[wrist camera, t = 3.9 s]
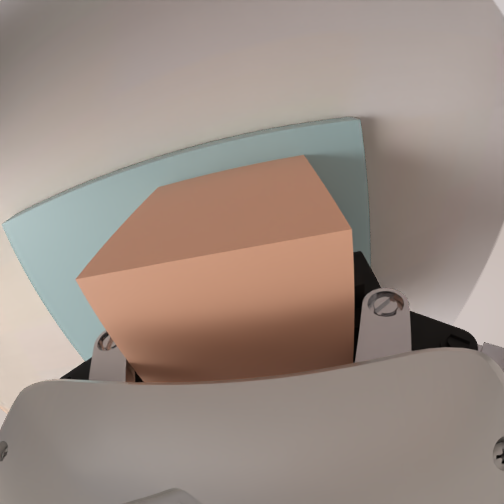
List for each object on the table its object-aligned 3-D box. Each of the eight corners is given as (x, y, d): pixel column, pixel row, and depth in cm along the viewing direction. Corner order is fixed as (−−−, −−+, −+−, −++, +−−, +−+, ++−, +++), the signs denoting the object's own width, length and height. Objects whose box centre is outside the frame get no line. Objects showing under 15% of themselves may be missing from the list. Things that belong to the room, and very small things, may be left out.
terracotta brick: (158, 187, 11) (75, 279, 5) (303, 154, 10) (351, 229, 5) (216, 337, 14) (199, 444, 9) (325, 321, 14) (347, 432, 8)
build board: (14, 215, 12) (1, 224, 11) (350, 117, 10) (360, 119, 9) (158, 425, 23) (155, 435, 22) (354, 411, 21) (357, 423, 20)
